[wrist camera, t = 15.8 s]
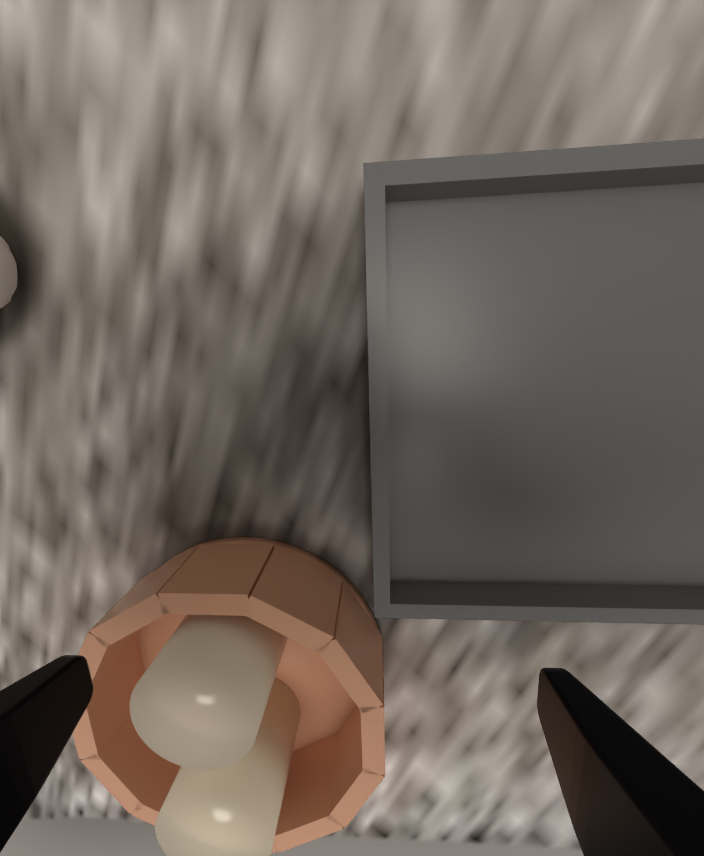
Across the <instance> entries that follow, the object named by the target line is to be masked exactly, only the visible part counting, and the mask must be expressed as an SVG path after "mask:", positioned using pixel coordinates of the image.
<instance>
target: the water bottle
mask: <svg viewBox="0 0 704 856" xmlns="http://www.w3.org/2000/svg"><path fill="white" fill-rule="evenodd" d="M16 288H17V265H16V261H15V259H14V257H13V255H12V253H11V252H10V248H9V246H8V244H7V243H6V242H5V241H4V239H3V238H2V237H1V236H0V308H2V307H3V306H5V305H6V304H7V303H9V302H10V301H11V297H12V295H13V294H14V292H15V290H16Z"/></svg>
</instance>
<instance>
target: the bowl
mask: <svg viewBox="0 0 704 856" xmlns="http://www.w3.org/2000/svg"><path fill="white" fill-rule="evenodd" d="M186 615H229V616H247V617H249V618H251V619H253V620H255V621H257V622H259V623H261V624H263V625H265V626H267V627H269V628H271V629H273V630H275V631H277V632H279V633H281V634H283V635H285V636H287V637H288V639H287V642H286V645H285V648H284V651H283V654H282V657H281V661H280V664H279V667H278V670H277V673H276V676H275V677H276V678H278V679H279V680H281V681H282V682H284V683H285V684H286V685H287V686H289V688H290V689H291V690H292V691H293V692H294V694H295V695H296V697H297V699H298V702H299V704H300V712H301V714H300V720H299V725H298V730H297V734H296V739H295V744H294V748H293V753H292V758H291V762H290V767H289V772H288V777H287V781H286V786H285V791H284V795H283V800H282V805H281V809H280V814H279V819H278V823H277V828H276V833H275V838H274V842H273V847H272V852H273V853H276V852H277V851H278V852H282V851H284V850H287V849H290V848H293V847H295V846H298V845H301V844H304V843H306V842H309V841H312V840H314V839H317V838H320V837H323V836H325V835H328V834H331V833H333V832H336V831H339V830H342V829H344V827H346V826H347V825H348V824H349V822H350V821H351V820H352V818H353V817H354V816H355V815H356V813H357V812H358V811H359V809H360V808H361V807H362V806H363V804H364V803H365V802H366V800H367V799H368V798H369V796H370V795H371V794H372V793H373V791H374V790H375V789H376V787H377V786H378V785H379V784H380V782H381V781H382V780H383V778H384V775H385V735H384V678H383V638H382V635H381V634H380V632H379V629H378V626H377V623H376V621H375V618H374V616H373V614H372V612H371V610H370V608H369V607H368V605H367V603H366V601H365V600H364V598H363V597H362V596H361V594H360V593H359V592H358V591H357V589H356V588H355V587H354V586H353V585H352V584H351V583H350V582H349V581H348V580H347V579H346V578H345V577H344V576H343V575H342V574H341V573H340V572H339V571H337V570H336V569H335V568H333V567H332V566H331V565H329V564H328V563H327V562H325V561H323V560H322V559H320V558H318V557H316V556H315V555H313V554H311V553H309V552H307V551H304V550H302V549H300V548H298V547H295V546H292V545H289V544H286V543H283V542H279V541H275V540H269V539H264V538H256V537H228V538H221V539H215V540H210V541H206V542H203V543H200V544H197V545H194V546H192V547H190V548H187V549H185V550H183V551H181V552H179V553H178V554H176V555H175V556H173V557H172V558H170V559H169V560H167V561H166V562H165V563H164V564H163V565H162V566H161V567H159V568H158V569H156V570H154V571H153V572H151V573H149V574H147V575H146V576H144V577H143V578H142V579H141V580H140V581H139V582H138V583H137V584H136V585H135V586H134V587H133V588H132V589H131V590H130V591H129V592H128V593H127V594H126V595H125V596H124V597H123V598H122V599H121V600H120V601H119V602H118V603H117V604H116V605H115V606H114V607H113V608H112V609H111V610H110V611H109V612H108V613H107V614H106V615H105V616H104V617H103V618H102V619H101V620H100V621H99V622H98V623H97V624H96V625H95V626H94V627H93V628H92V629H91V630H90V631H89V632H88V633H87V636H86V638H85V641H84V643H83V645H82V648H81V650H80V653H79V655H81V656H84V657H85V658H86V660H87V662H88V666H89V670H90V674H91V678H92V682H93V687H94V689H93V695H92V698H91V701H90V703H89V705H88V706H87V708H86V710H85V712H84V714H83V715H82V717H81V719H80V721H79V722H78V724H77V726H76V728H75V730H74V731H73V736H74V740H75V744H76V748H77V752H78V756H79V759H81V762H82V763H83V764H84V765H85V766H86V767H87V768H88V769H89V770H90V772H91V773H92V774H93V775H94V776H95V777H96V778H97V779H98V780H99V781H100V782H101V783H102V784H103V786H104V787H105V788H106V789H107V790H108V791H109V792H110V793H111V794H112V795H113V796H114V797H115V798H116V800H117V801H118V802H119V803H120V804H121V805H122V806H123V807H124V808H125V809H126V810H127V811H128V812H129V814H130V813H132V812H133V813H132V815H133V816H135V817H137V818H139V819H141V820H143V821H145V822H148V823H150V824H152V825H154V826H155V824H156V819H157V816H158V814H159V812H160V810H161V808H162V806H163V803H164V801H165V799H166V797H167V795H168V793H169V791H170V789H171V786H172V784H173V782H174V780H175V778H176V776H177V774H178V772H179V769H180V767H181V766H180V765H177V764H174V763H172V762H170V761H168V760H166V759H164V758H162V757H161V756H159V755H158V754H156V753H155V752H154V751H153V750H152V749H150V748H149V747H148V746H147V745H146V744H145V743H144V741H143V740H142V739H141V738H140V736H139V735H138V733H137V731H136V730H135V728H134V725H133V723H132V720H131V716H130V698H131V694H132V691H133V689H134V687H135V686H136V684H137V682H138V681H139V680H140V678H141V677H142V676H143V674H144V673H145V671H146V670H147V669H148V667H149V666H150V665H151V663H152V662H153V660H154V659H155V658H156V656H157V655H158V653H159V652H160V651H161V649H162V648H163V647H164V645H165V644H166V642H167V641H168V640H169V638H170V637H171V635H172V634H173V633H174V631H175V630H176V629H177V627H178V626H179V624H180V623H181V622H182V620H183V619H184V617H185V616H186Z"/></svg>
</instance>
